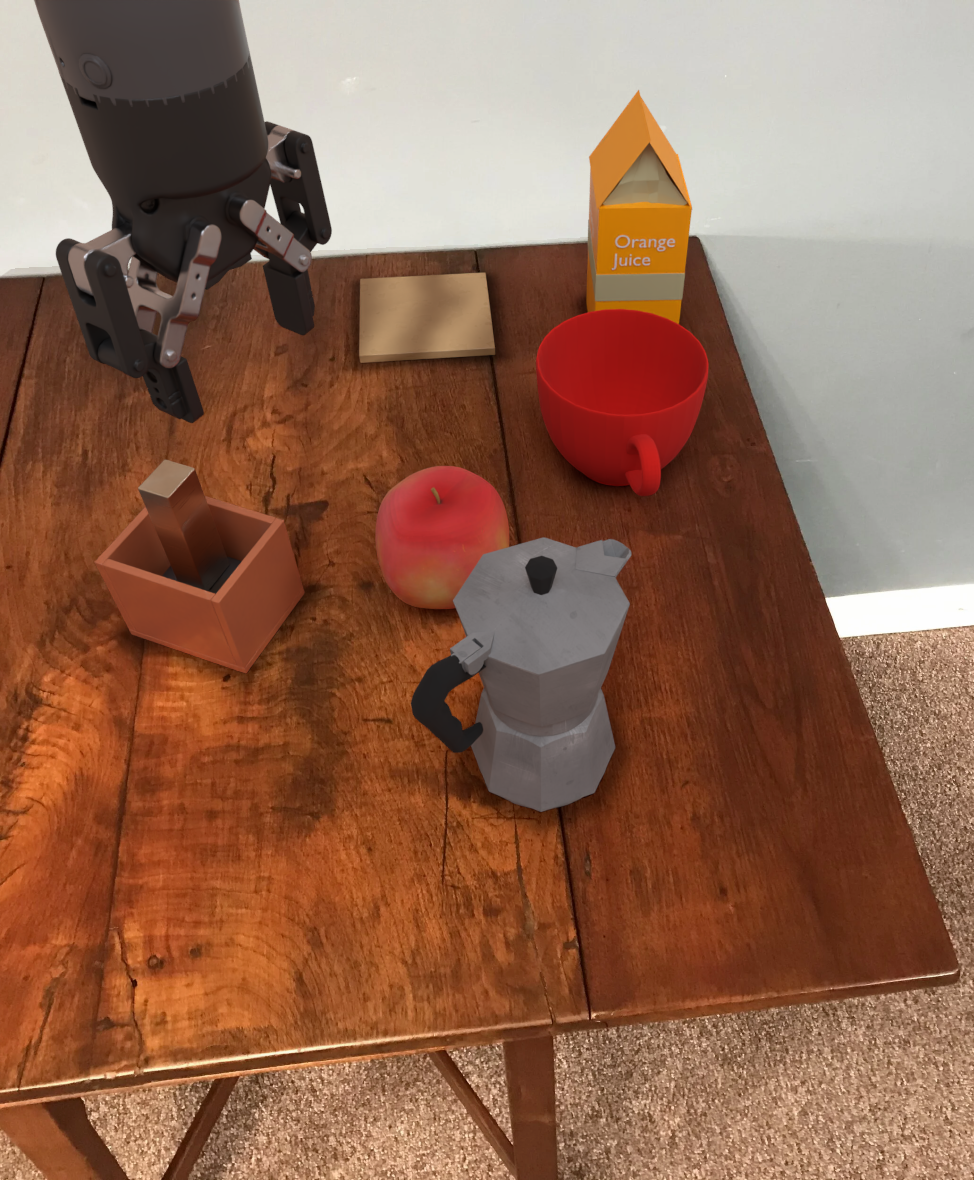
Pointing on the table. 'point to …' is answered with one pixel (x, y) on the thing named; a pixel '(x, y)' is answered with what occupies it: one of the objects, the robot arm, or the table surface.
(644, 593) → the table surface
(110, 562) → the box
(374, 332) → the board
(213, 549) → the steel square post
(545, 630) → the coffeepot
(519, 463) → the table surface
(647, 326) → the ceramic cup
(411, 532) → the apple
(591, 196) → the orange juice
